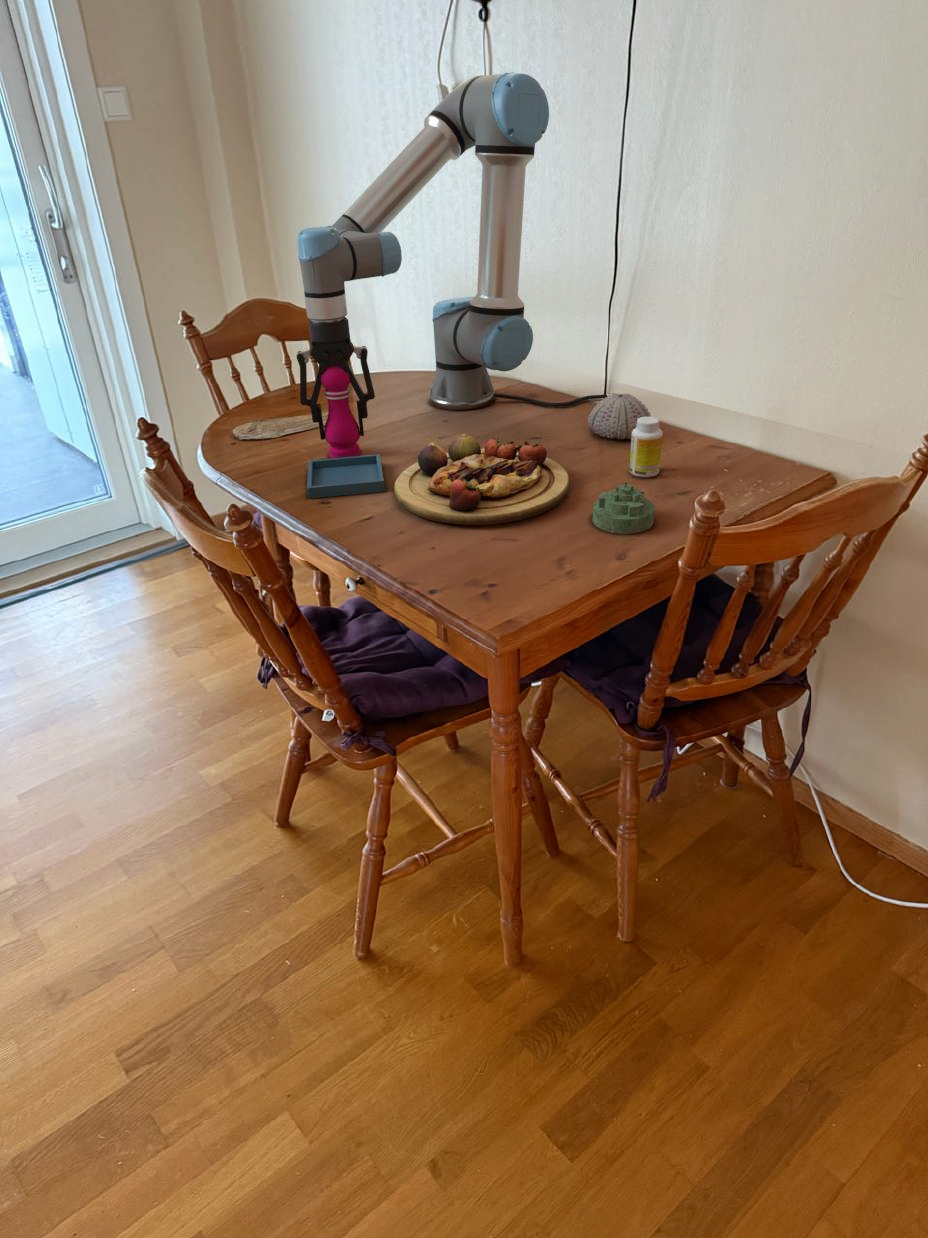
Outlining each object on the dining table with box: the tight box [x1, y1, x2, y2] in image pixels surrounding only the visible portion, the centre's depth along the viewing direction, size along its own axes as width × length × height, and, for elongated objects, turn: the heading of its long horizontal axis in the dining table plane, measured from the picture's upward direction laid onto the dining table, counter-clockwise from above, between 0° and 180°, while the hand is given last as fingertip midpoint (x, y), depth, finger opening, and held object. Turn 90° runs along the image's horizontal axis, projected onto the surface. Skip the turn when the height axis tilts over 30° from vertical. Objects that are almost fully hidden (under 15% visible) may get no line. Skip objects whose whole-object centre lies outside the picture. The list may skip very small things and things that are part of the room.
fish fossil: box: [232, 411, 328, 440], centre depth 187 cm, size 26×10×1 cm, turn 123°
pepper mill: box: [321, 366, 361, 459], centre depth 166 cm, size 7×7×20 cm
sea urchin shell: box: [587, 393, 652, 440], centre depth 173 cm, size 13×14×8 cm
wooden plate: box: [393, 433, 571, 526], centre depth 150 cm, size 32×32×8 cm
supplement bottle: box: [629, 416, 664, 478], centre depth 154 cm, size 6×6×10 cm
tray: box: [306, 453, 386, 500], centre depth 159 cm, size 14×14×2 cm
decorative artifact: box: [592, 480, 656, 535], centre depth 137 cm, size 10×7×10 cm
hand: (342, 435), depth 169 cm, fingers closed on pepper mill, 7 cm apart
